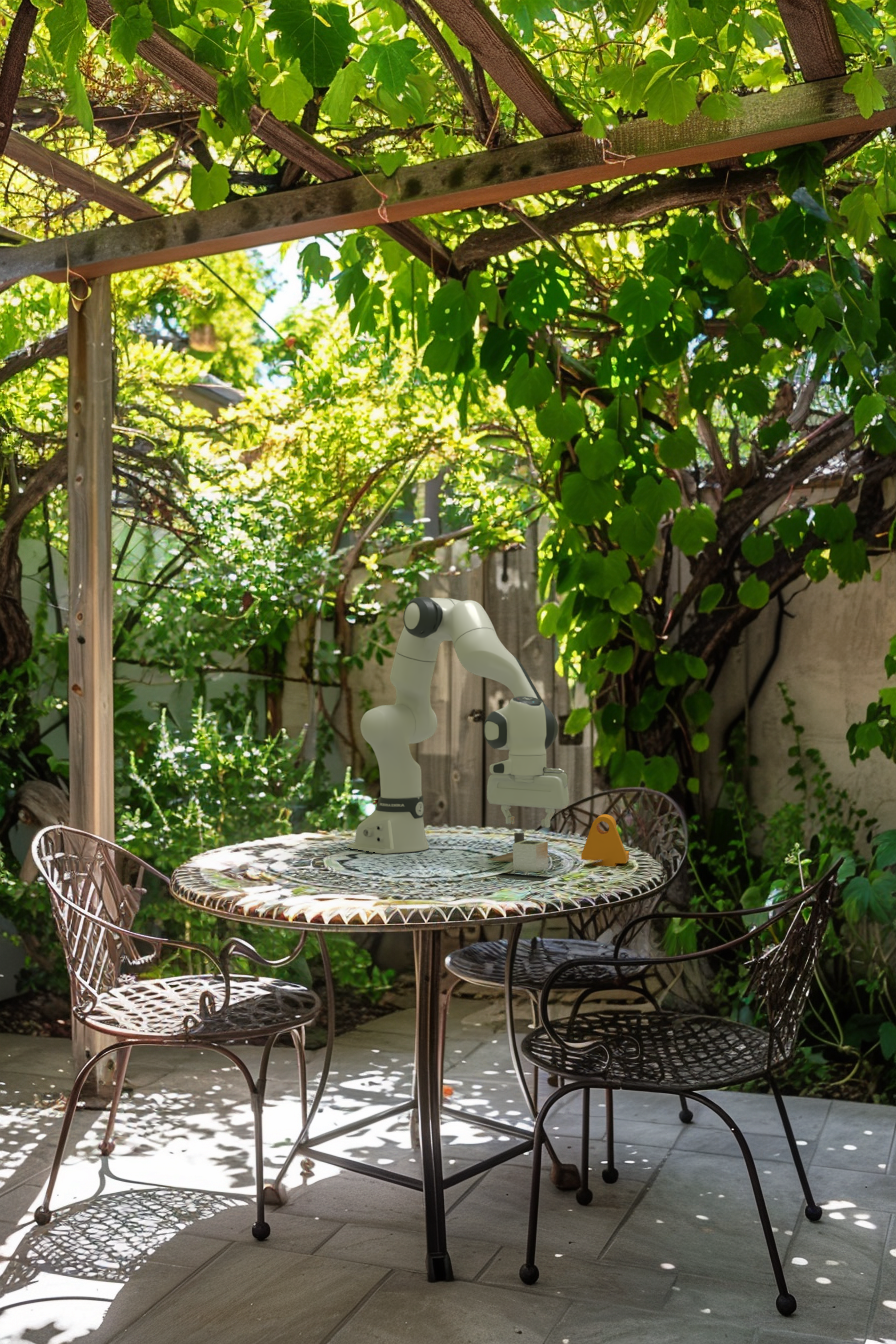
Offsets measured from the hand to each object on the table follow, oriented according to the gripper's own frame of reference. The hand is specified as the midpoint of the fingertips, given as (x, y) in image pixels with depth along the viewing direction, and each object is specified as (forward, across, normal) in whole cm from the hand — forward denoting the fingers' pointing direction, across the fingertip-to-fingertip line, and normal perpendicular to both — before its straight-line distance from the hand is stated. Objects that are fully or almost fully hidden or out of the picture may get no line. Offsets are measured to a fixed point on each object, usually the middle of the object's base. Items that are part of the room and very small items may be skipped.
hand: (527, 825), depth 289 cm
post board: (+12, +9, -13) cm, 20 cm away
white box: (+11, -1, 0) cm, 11 cm away
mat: (+12, -1, 0) cm, 12 cm away
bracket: (+12, -10, -22) cm, 27 cm away
